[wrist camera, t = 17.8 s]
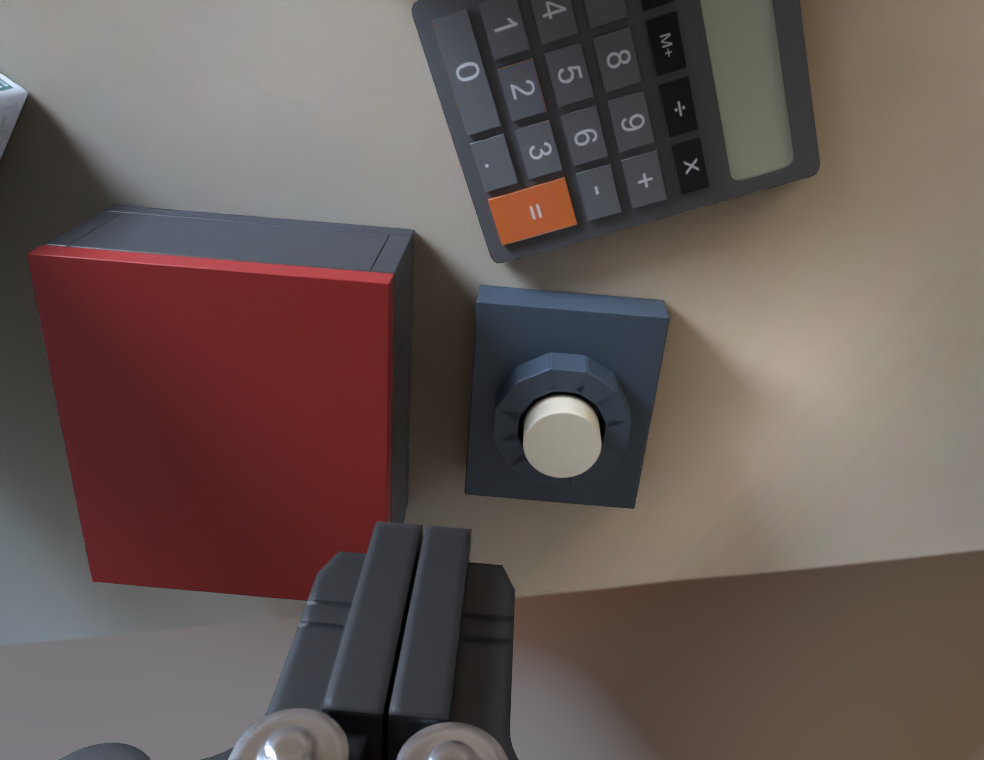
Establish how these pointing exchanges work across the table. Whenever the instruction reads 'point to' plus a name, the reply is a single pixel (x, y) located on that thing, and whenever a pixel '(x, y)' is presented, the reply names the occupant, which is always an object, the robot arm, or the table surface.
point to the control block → (562, 388)
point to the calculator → (616, 109)
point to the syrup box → (9, 108)
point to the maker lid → (219, 414)
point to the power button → (561, 436)
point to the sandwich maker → (283, 247)
